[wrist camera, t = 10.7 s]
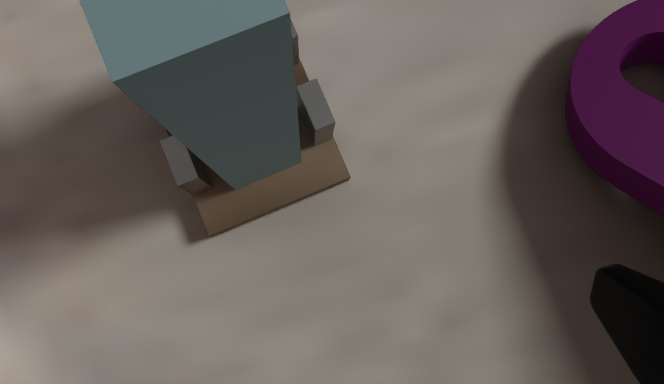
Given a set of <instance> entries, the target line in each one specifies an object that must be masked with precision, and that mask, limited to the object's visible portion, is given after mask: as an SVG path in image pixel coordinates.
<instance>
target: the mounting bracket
mask: <svg viewBox="0 0 664 384" xmlns="http://www.w3.org/2000/svg"><path fill="white" fill-rule="evenodd" d="M646 62H655V63H662V64H664V0H637V1H634V2H632V3H630V4H628V5H626V6H624V7H622V8H620V9H619V10H617V11H615V12H614V13H612V14H611V15H609V16H608V17H607V18H605V19H604V20H603V21H602V22H600V23H599V24H598V25H597V26H596V27H595V28H594V29H593V30H592V31H591V32H590V33H589V35H588V36H587V37H586V39H585V40H584V42H583V43H582V45H581V47H580V48H579V50H578V52H577V55H576V57H575V60H574V63H573V67H572V71H571V76H570V81H569V86H568V91H567V96H566V105H565V115H566V123H567V128H568V131H569V134H570V137H571V139H572V141H573V143H574V145H575V147H576V149H577V150H578V152H579V154H580V155H581V156H582V158H583V159H584V160H585V162H586V163H587V164H588V165H589V166H590V167H591V168H592V169H593V170H594V171H595V172H596V173H597V174H598V175H600V176H601V177H602V178H603V179H604V180H606V181H607V182H609V183H610V184H612V185H613V186H615V187H616V188H618V189H619V190H621V191H623V192H624V193H626V194H628V195H629V196H631V197H633V198H634V199H636V200H638V201H639V202H641V203H643V204H644V205H646V206H648V207H649V208H651V209H653V210H654V211H656V212H658V213H659V214H661V215H663V216H664V103H663V102H661V101H659V100H657V99H655V98H653V97H651V96H649V95H647V94H645V93H643V92H641V91H639V90H637V89H636V88H634V87H633V86H631V85H630V84H629V83H628V82H627V81H626V80H625V78H624V77H623V75H622V73H621V71H623V70H624V69H626V68H627V67H630V66H632V65H635V64H639V63H646Z"/></svg>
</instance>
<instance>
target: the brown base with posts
mask: <svg viewBox="0 0 664 384" xmlns="http://www.w3.org/2000/svg"><path fill="white" fill-rule="evenodd" d="M290 21H291V19H290ZM291 34H292V47H293V60H294V73H295V86H296V98H297V111H298V124H299V137H300V150H301V163H299V164H297V165H294V166H292V167H289V168H287V169H285V170H282V171H280V172H277V173H275V174H273V175H270V176H268V177H265V178H263V179H261V180H258V181H256V182H253V183H251V184H249V185H246V186H244V187H241V188H239V189H237V190H235V189H234V188H233V187H231V186H230V185H229V184H228V183H227V182H226V181H225V180H223V179H222V178H221V177H220V176H219V175H218V174H217V173H215V172H214V171H213V170H212V169H211V168H210V167H209V166H208V165H206V164H205V163H204V162H203V161H202V160H201V159H200V158H198V157H197V156H196V155H195V154H194V153H193V152H192V151H190V150H189V149H188V148H187V147H186V146H185V145H184V144H182V143H181V142H180V141H179V140H178V139H177V138H176V137H174V136H173V135H172V134H171V133H170V132H169V131H168V130H167V133H168V135H169V137H168V138H165V139H163V140H160V144H161V146H162V149H163V151H164V154H165V156H166V159H167V161H168V164H169V166H170V169H171V171H172V174H173V176H174V179H175V181H176V184H177V186H178V187H180V188H182V189H184V190H186V191H188V192H190V193H192V195H193V198H194V200H195V203H196V205H197V208H198V210H199V213H200V215H201V218H202V220H203V223H204V225H205V228H206V230H207V232H208V235H209V236H211V237H214V236H217V235H219V234H221V233H224V232H226V231H228V230H231V229H233V228H236V227H238V226H240V225H243V224H245V223H248V222H250V221H252V220H255V219H257V218H260V217H262V216H264V215H267V214H269V213H272V212H274V211H276V210H279V209H281V208H284V207H286V206H288V205H291V204H293V203H295V202H298V201H300V200H303V199H305V198H307V197H310V196H312V195H315V194H317V193H319V192H322V191H324V190H327V189H329V188H331V187H334V186H336V185H339V184H341V183H343V182H346V181H348V180H349V179H350V174H349V172H348V170H347V168H346V165H345V163H344V161H343V158H342V156H341V154H340V151H339V149H338V147H337V144H336V142H335V140H334V137H333V131H334V126H335V120H334V118H333V115H332V113H331V111H330V109H329V106H328V104H327V102H326V99H325V97H324V95H323V92H322V90H321V88H320V86H319V83H318V81H317V79H314V80H311V81H309V80H308V77H307V75H306V73H305V70H304V68H303V66H302V63H301V61H300V59H299V49H298V35H297V33H296V30H295V28H294V26H293V23H292V21H291Z"/></svg>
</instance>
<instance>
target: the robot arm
mask: <svg viewBox="0 0 664 384" xmlns="http://www.w3.org/2000/svg"><path fill="white" fill-rule="evenodd" d="M590 302H591V305H592V308H593V310H594V312H595V313H596V315H597V316H598V318H599V320H600V321H601V323H602V325H603V326H604V328H605V329H606V331H607V333H608V334H609V336H610V338H611V339H612V341H613V342H614V344H615V346H616V347H617V349H618V351H619V352H620V354H621V355H622V357H623V359H624V360H625V362H626V364H627V365H628V367H629V368H630V370H631V371H632V373H633V374H634V375H635V377H636V378H637V380H638V381H639V382H640V384H664V282H661V281H659V280H656V279H654V278H652V277H649V276H647V275H644V274H642V273H640V272H637V271H635V270H632V269H630V268H628V267H625V266H623V265H620V264H612V265H608V266H604V267H601V268H599V269H598V270H597V271H596V273H595V277H594V281H593V285H592V290H591V294H590Z"/></svg>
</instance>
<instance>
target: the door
mask: <svg viewBox="0 0 664 384" xmlns="http://www.w3.org/2000/svg"><path fill="white" fill-rule="evenodd" d="M80 3H81V5H82V8H83V10H84V13H85V15H86V18H87V20H88V23H89V25H90V28H91V30H92V33H93V35H94V38H95V40H96V43H97V45H98V48H99V50H100V53H101V55H102V58H103V60H104V63H105V65H106V68H107V70H108V73H109V75H110V78H111V80H112V82H113V83H114V84H115V85H116V86H117V87H119V88H120V89H121V90H122V91H123V92H124V93H125V94H126V95H128V96H129V97H130V98H131V99H132V100H133V101H134V102H136V103H137V104H138V105H139V106H140V107H141V108H142V109H144V110H145V111H146V112H147V113H148V114H149V115H150V116H152V117H153V118H154V119H155V120H156V121H157V122H158V123H160V124H161V125H162V126H163V127H164V128H165V129H166V130H168V131H169V132H170V133H171V134H172V135H173V136H174V137H176V138H177V139H178V140H179V141H180V142H181V143H182V144H184V145H185V146H186V147H187V148H188V149H189V150H190V151H192V152H193V153H194V154H195V155H196V156H197V157H198V158H200V159H201V160H202V161H203V162H204V163H205V164H206V165H208V166H209V167H210V168H211V169H212V170H213V171H214V172H215V173H217V174H218V175H219V176H220V177H221V178H222V179H223V180H225V181H226V182H227V183H228V184H229V185H230V186H231V187H233V188H234V189H235V190H237V189H239V188H241V187H244V186H246V185H249V184H251V183H253V182H256V181H258V180H261V179H263V178H265V177H268V176H270V175H273V174H275V173H277V172H280V171H282V170H285V169H287V168H289V167H292V166H294V165H297V164H299V163H301V150H300V137H299V124H298V111H297V98H296V86H295V73H294V60H293V47H292V34H291V21H290V12H289V10H288V7H287V5H286V3H285V1H284V0H80Z"/></svg>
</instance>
